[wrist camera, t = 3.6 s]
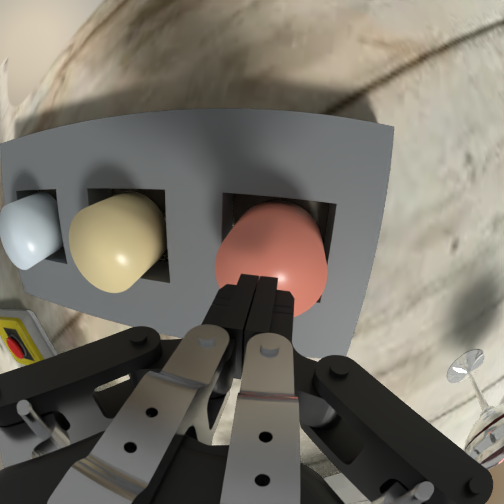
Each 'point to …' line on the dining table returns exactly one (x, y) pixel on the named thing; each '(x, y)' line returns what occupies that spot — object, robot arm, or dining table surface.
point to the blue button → (30, 229)
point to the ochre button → (117, 240)
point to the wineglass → (481, 415)
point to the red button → (276, 251)
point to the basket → (346, 490)
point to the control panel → (209, 205)
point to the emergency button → (25, 336)
